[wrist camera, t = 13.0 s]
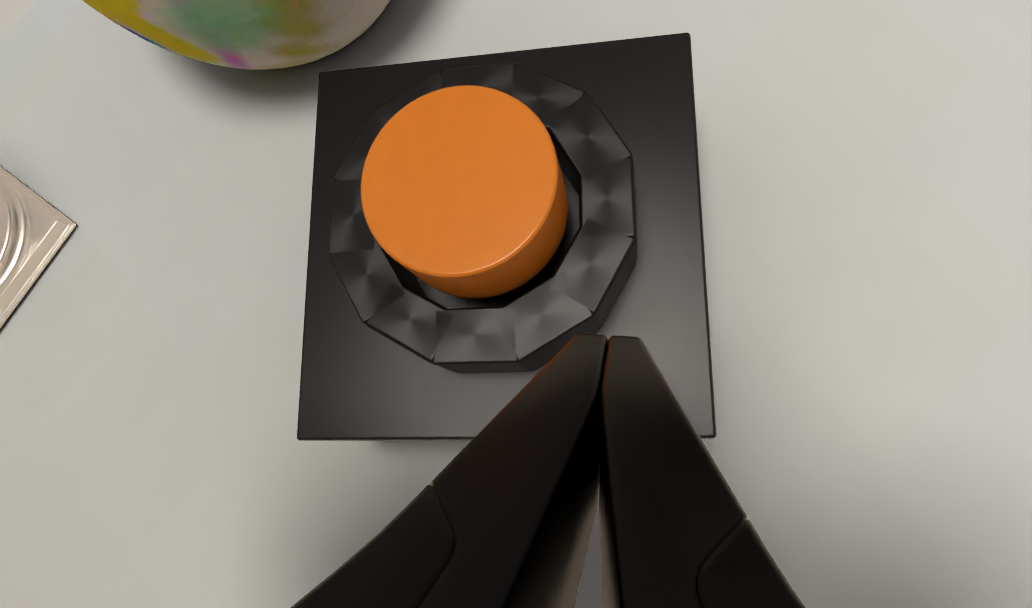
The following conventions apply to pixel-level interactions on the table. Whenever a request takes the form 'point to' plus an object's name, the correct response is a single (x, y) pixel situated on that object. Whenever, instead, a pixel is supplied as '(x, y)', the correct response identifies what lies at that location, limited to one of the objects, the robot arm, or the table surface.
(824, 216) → the table surface
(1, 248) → the figurine
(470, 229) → the button
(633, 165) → the black button base
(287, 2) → the decorative egg
